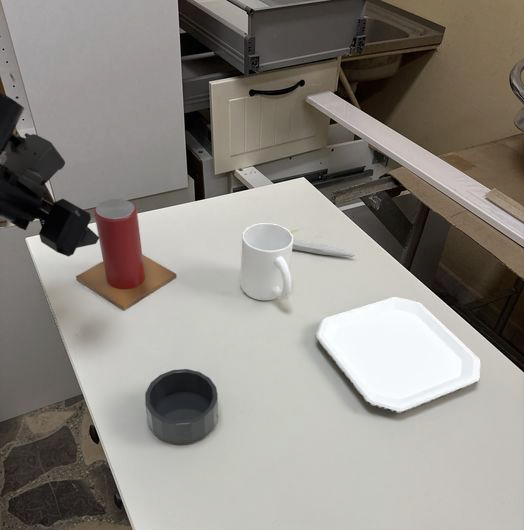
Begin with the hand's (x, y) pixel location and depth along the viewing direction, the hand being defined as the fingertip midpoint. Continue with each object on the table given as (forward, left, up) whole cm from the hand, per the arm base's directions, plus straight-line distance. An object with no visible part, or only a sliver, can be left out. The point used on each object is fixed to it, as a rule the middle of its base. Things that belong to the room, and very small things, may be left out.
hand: (76, 228), depth 77 cm
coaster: (+6, +5, -14) cm, 16 cm away
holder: (+14, -26, -14) cm, 32 cm away
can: (+5, +4, -13) cm, 15 cm away
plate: (+47, -18, -14) cm, 52 cm away
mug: (+30, -1, -14) cm, 33 cm away
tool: (+39, +11, -14) cm, 43 cm away
